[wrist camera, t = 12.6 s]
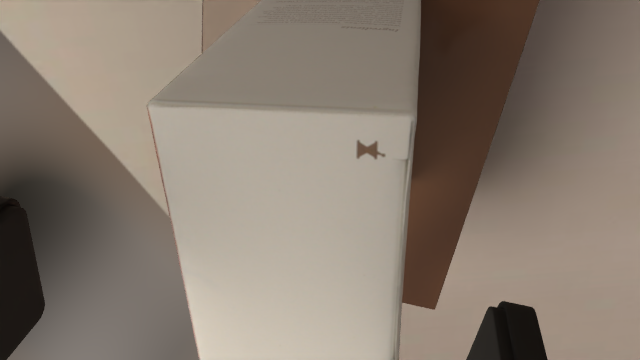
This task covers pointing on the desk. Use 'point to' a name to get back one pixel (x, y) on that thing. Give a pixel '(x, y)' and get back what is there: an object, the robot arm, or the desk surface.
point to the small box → (295, 179)
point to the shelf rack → (440, 118)
